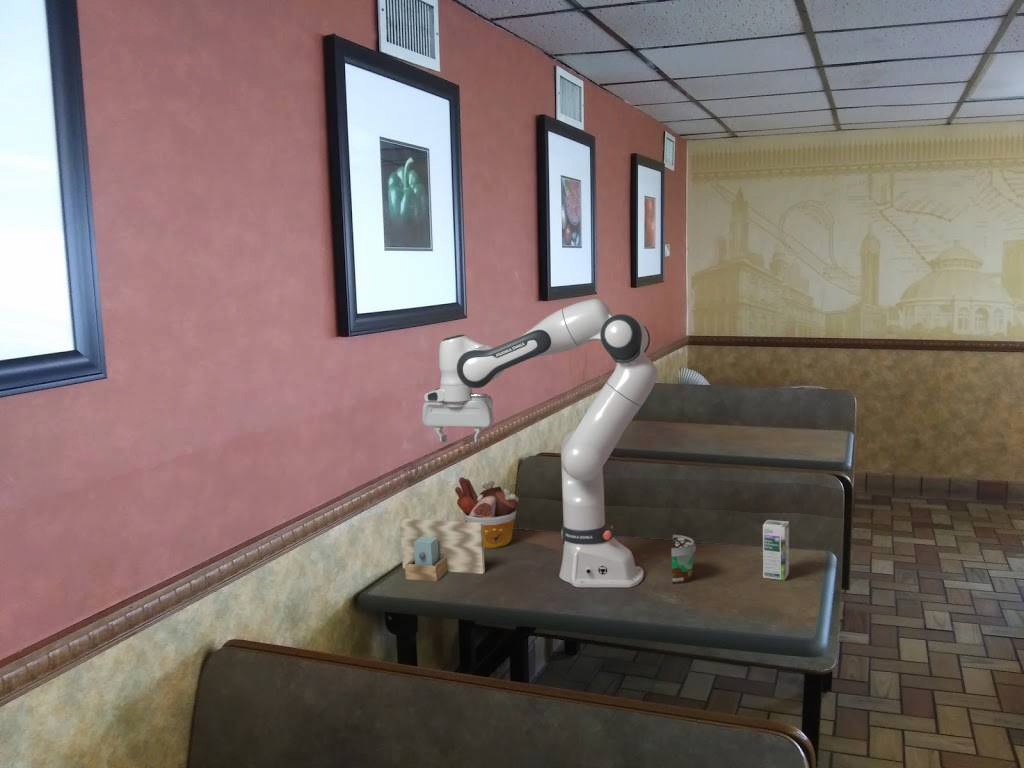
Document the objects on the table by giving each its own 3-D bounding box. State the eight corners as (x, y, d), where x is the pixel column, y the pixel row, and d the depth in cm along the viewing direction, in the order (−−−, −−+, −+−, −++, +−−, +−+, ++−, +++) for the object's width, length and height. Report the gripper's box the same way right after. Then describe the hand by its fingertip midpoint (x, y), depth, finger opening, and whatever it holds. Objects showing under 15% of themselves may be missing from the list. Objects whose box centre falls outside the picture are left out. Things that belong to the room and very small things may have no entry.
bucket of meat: (531, 538, 286) (528, 475, 283) (506, 555, 271) (503, 488, 268) (474, 532, 295) (471, 470, 292) (447, 547, 280) (443, 483, 277)
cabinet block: (439, 572, 259) (437, 537, 258) (431, 579, 254) (429, 544, 252) (423, 571, 261) (421, 536, 259) (414, 578, 255) (412, 543, 254)
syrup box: (762, 578, 244) (762, 524, 242) (767, 571, 249) (767, 518, 247) (784, 581, 241) (784, 526, 239) (789, 573, 246) (789, 520, 244)
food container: (696, 586, 240) (695, 549, 238) (672, 586, 241) (671, 548, 240) (696, 570, 252) (696, 534, 250) (673, 569, 253) (672, 534, 252)
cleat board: (484, 571, 258) (482, 522, 256) (473, 584, 249) (470, 533, 247) (405, 566, 265) (402, 518, 263) (390, 578, 256) (387, 528, 254)
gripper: (495, 391, 259) (498, 440, 261) (427, 391, 265) (430, 439, 267) (488, 395, 253) (490, 445, 255) (418, 395, 259) (421, 443, 261)
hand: (459, 442), depth 261 cm, fingers open, 8 cm apart
